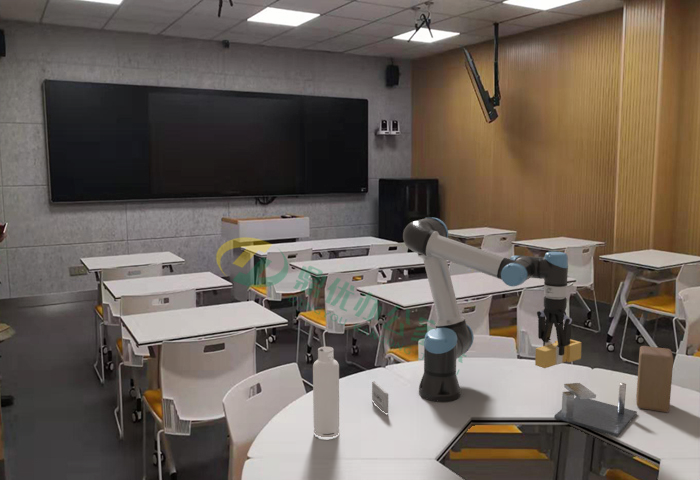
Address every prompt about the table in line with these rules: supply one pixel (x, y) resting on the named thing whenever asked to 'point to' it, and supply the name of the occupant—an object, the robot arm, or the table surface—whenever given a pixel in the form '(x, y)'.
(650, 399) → the wooden block
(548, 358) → the link
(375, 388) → the cassette
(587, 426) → the base
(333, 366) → the bottle
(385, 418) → the table surface
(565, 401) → the block
